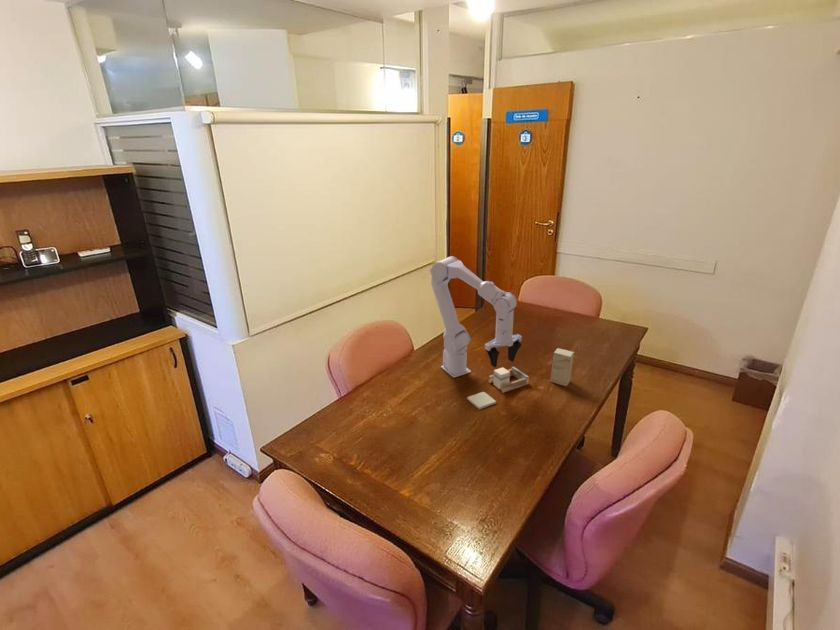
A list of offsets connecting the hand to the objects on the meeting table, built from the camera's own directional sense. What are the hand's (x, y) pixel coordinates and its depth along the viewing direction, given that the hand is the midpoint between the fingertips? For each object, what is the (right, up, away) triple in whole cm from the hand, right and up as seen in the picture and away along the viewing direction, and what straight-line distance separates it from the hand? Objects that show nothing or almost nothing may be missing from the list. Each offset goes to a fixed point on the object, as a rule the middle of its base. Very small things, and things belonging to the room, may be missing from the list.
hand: (502, 363), depth 156 cm
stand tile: (-8, -12, -5) cm, 16 cm away
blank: (0, -8, +4) cm, 9 cm away
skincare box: (+22, -7, +5) cm, 24 cm away
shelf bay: (+3, -8, +5) cm, 10 cm away
